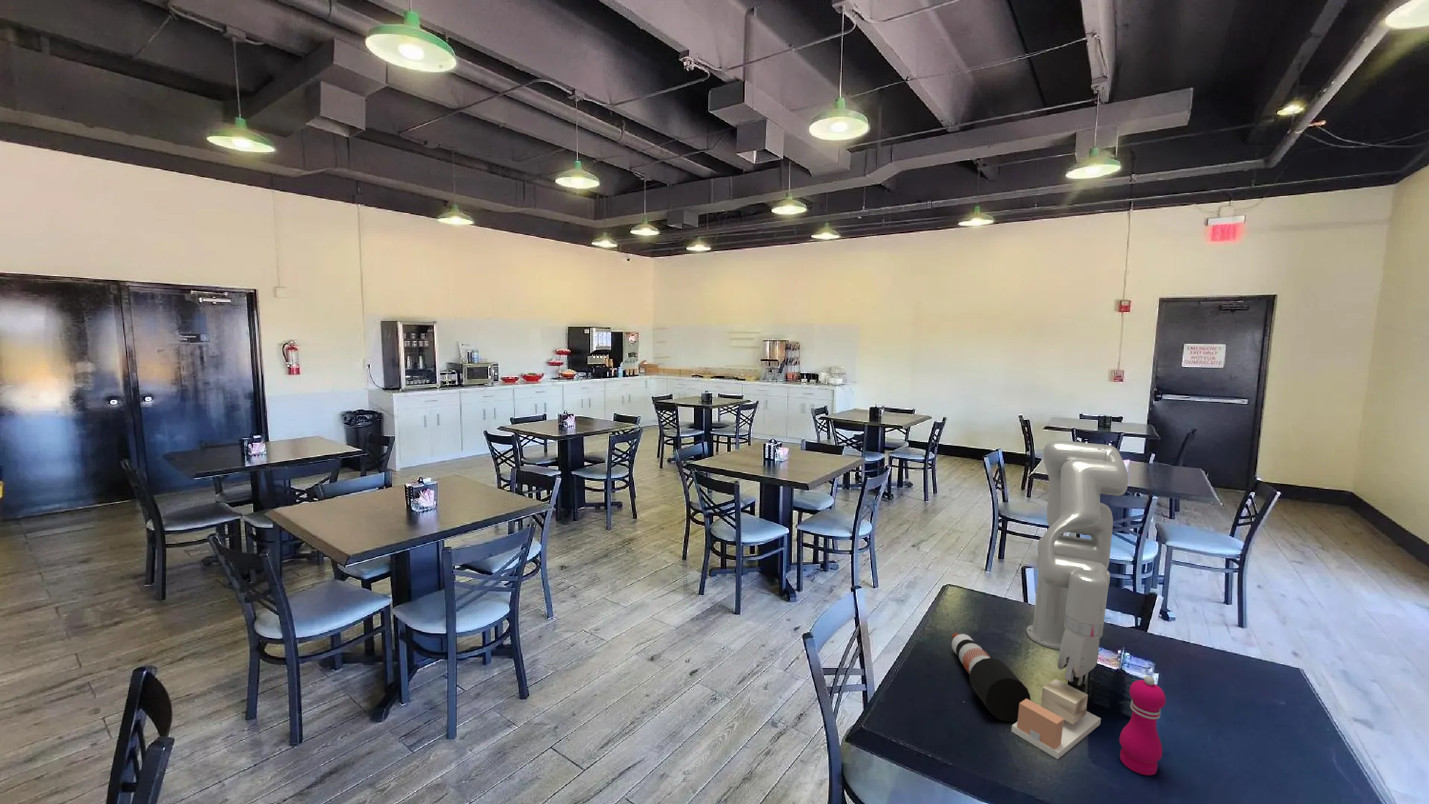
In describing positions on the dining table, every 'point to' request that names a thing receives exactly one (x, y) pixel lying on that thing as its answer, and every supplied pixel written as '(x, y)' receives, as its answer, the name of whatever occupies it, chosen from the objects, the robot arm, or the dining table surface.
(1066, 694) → the block
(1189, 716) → the dining table surface
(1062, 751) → the rail base
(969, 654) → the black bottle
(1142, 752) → the pepper mill
